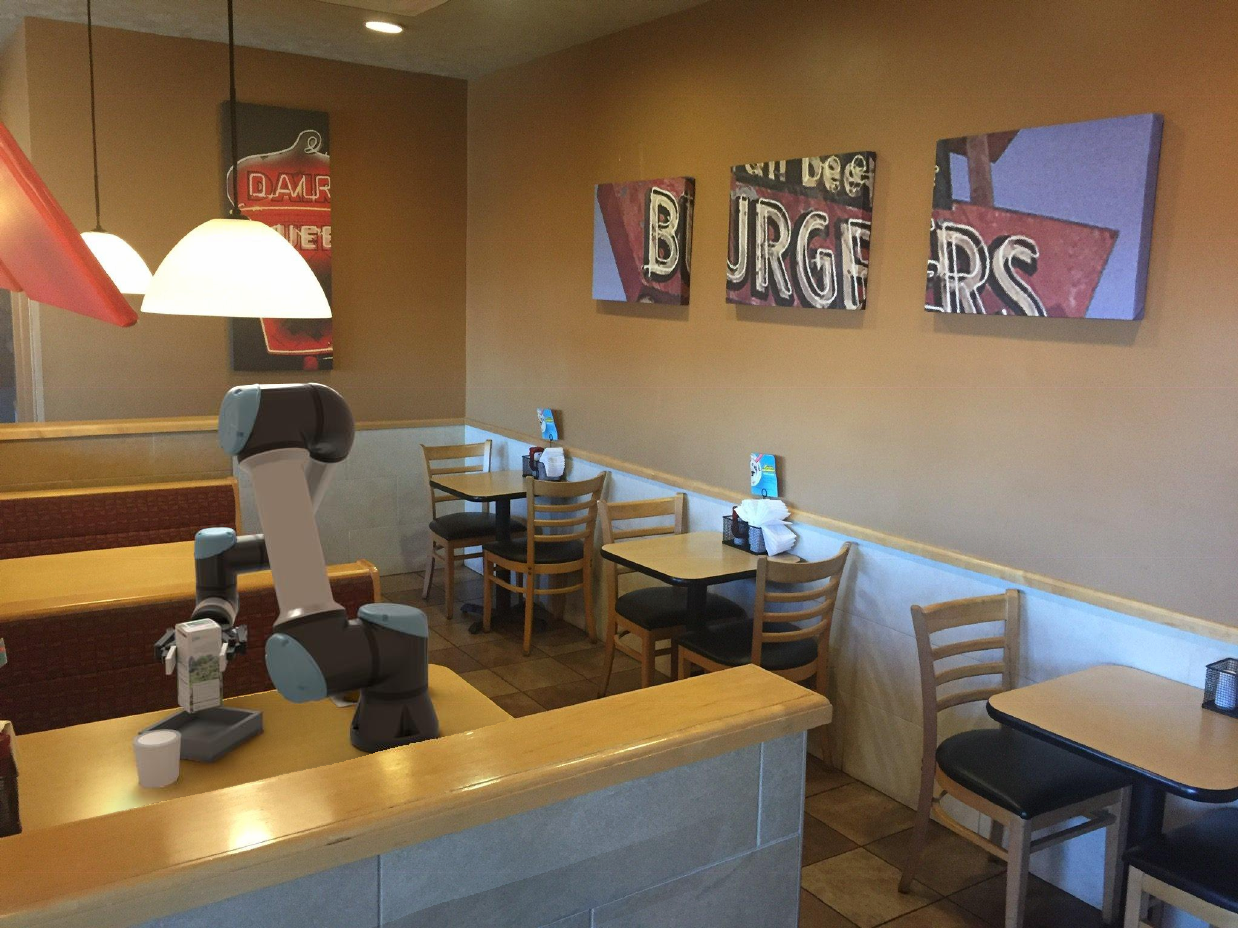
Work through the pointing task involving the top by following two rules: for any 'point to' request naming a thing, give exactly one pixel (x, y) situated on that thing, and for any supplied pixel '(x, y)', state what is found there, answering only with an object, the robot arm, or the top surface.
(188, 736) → the tray
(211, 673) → the syrup box
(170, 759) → the white cup
